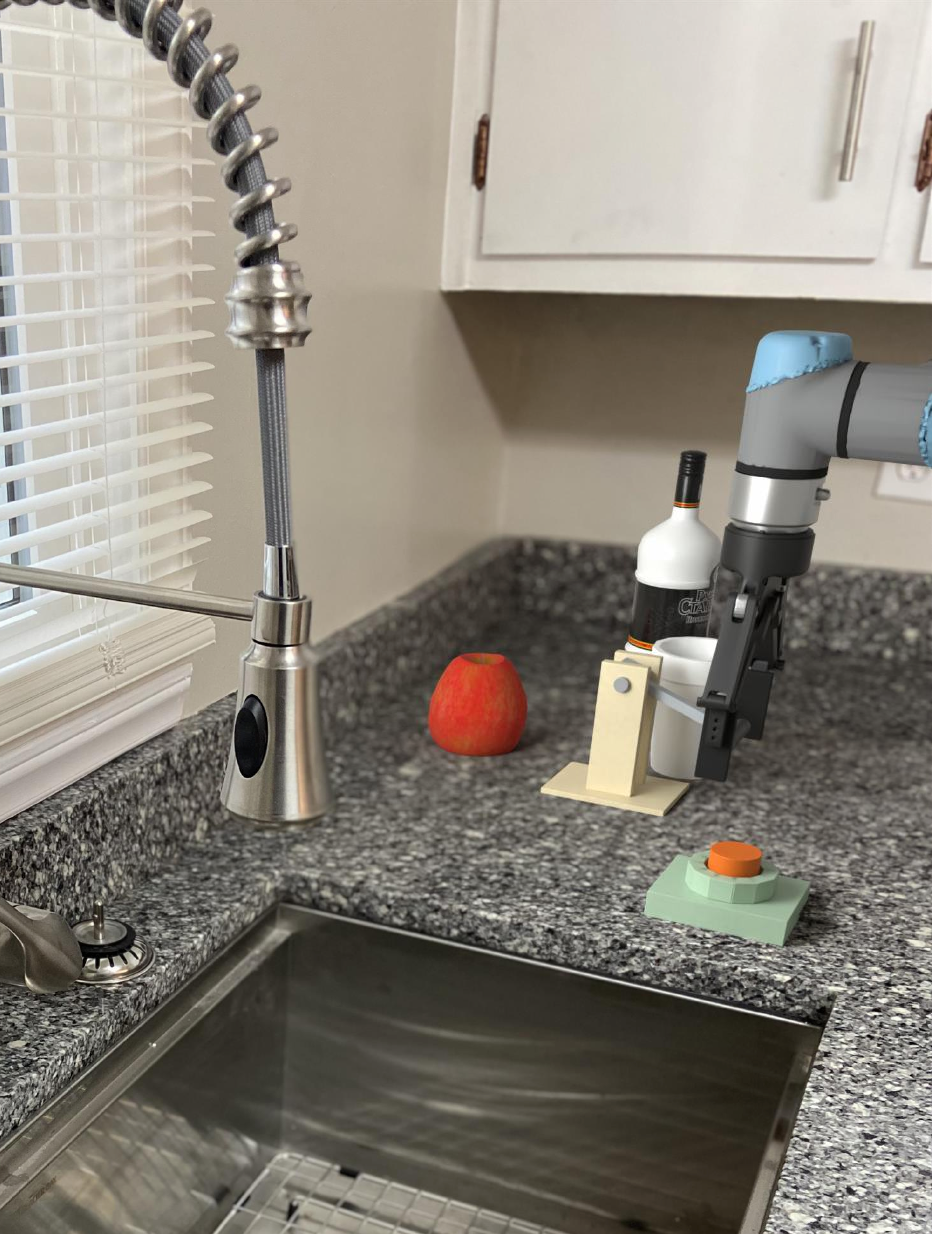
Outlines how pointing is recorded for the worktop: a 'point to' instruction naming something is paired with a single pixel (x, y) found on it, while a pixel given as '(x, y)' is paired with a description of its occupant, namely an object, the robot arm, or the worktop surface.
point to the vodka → (676, 567)
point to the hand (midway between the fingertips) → (728, 757)
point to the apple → (478, 706)
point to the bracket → (621, 743)
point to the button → (734, 859)
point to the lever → (689, 707)
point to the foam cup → (687, 679)
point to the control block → (728, 899)
